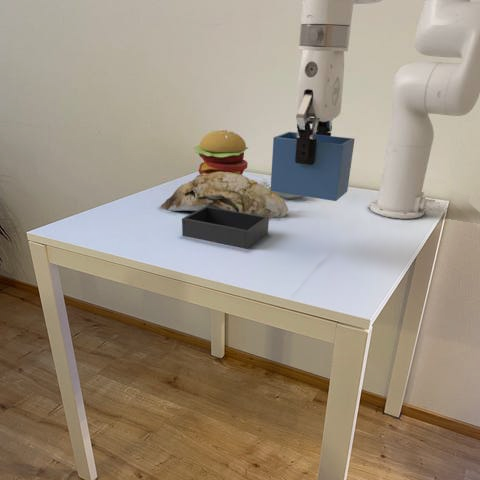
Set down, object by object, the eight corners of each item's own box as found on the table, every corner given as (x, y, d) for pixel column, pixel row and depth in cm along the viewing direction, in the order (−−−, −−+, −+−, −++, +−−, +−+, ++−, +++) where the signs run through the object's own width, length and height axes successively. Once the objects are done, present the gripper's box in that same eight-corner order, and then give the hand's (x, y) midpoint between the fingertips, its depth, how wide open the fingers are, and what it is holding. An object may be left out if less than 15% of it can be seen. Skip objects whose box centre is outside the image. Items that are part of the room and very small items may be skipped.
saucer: (306, 192, 127) (307, 183, 126) (308, 202, 119) (309, 193, 118) (270, 190, 128) (271, 181, 126) (269, 201, 119) (269, 191, 118)
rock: (172, 160, 117) (293, 162, 111) (177, 198, 123) (293, 201, 116) (147, 182, 105) (283, 185, 98) (154, 223, 110) (283, 228, 104)
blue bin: (347, 191, 85) (354, 138, 81) (336, 201, 80) (343, 145, 75) (285, 182, 90) (288, 131, 85) (270, 190, 84) (273, 137, 80)
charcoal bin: (267, 236, 98) (268, 217, 96) (247, 251, 91) (248, 231, 89) (206, 224, 103) (206, 205, 101) (182, 237, 96) (181, 218, 94)
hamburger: (245, 199, 120) (247, 136, 113) (191, 196, 121) (190, 134, 113) (248, 182, 134) (250, 125, 127) (201, 180, 135) (200, 123, 127)
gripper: (330, 39, 65) (316, 172, 74) (362, 41, 78) (347, 153, 87) (279, 38, 68) (272, 166, 77) (318, 40, 81) (308, 149, 90)
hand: (312, 158), depth 82 cm, fingers closed on blue bin, 7 cm apart
